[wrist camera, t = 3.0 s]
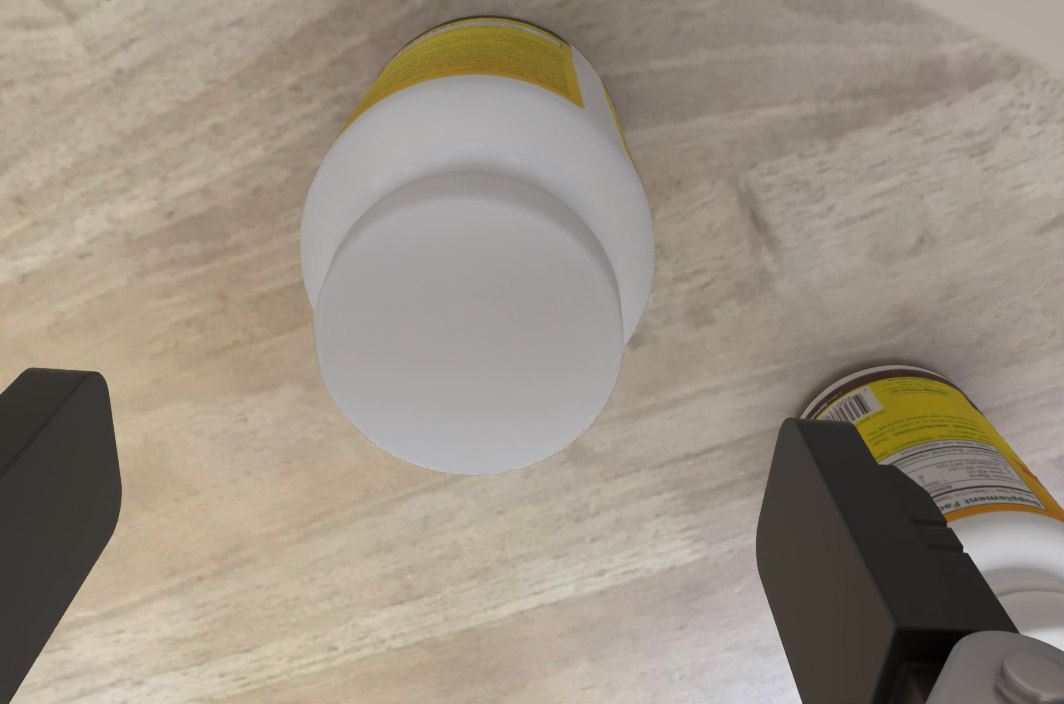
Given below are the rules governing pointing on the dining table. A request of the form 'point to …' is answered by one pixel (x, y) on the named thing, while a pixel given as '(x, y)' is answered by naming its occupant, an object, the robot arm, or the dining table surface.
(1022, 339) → the dining table surface
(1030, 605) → the supplement bottle
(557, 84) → the pill bottle
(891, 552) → the robot arm
